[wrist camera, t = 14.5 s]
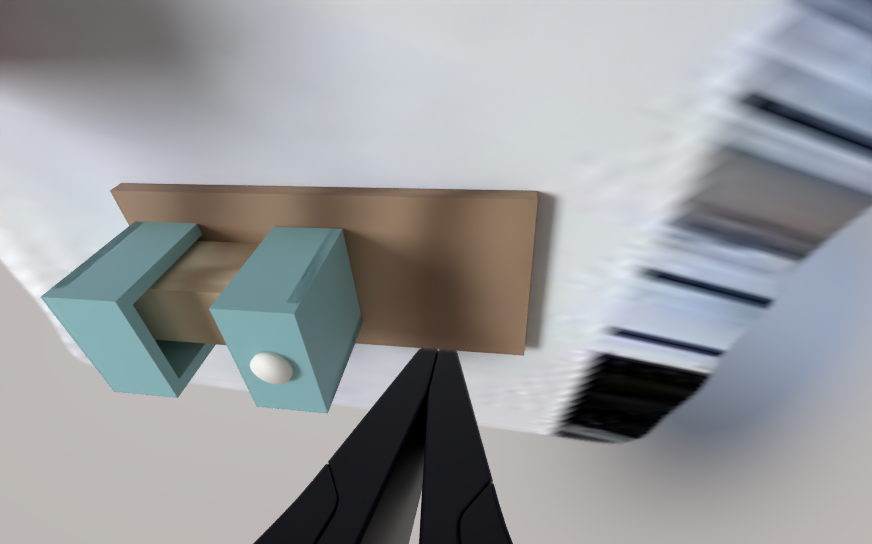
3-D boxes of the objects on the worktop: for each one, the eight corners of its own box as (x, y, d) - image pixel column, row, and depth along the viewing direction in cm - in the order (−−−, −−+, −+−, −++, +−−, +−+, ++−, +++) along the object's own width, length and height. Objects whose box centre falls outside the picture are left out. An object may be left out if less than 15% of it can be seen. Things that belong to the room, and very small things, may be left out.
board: (537, 190, 21) (537, 199, 20) (523, 345, 27) (523, 355, 26) (120, 183, 24) (110, 190, 23) (194, 322, 30) (187, 331, 29)
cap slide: (342, 228, 22) (290, 319, 17) (362, 322, 26) (325, 418, 21) (273, 226, 23) (204, 313, 18) (303, 319, 27) (253, 411, 22)
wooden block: (332, 246, 23) (303, 297, 20) (345, 298, 25) (320, 352, 22) (156, 239, 25) (103, 286, 22) (182, 289, 27) (137, 338, 24)
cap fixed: (197, 223, 24) (115, 301, 19) (237, 314, 28) (177, 397, 23) (135, 221, 24) (40, 296, 19) (183, 310, 28) (114, 391, 23)
